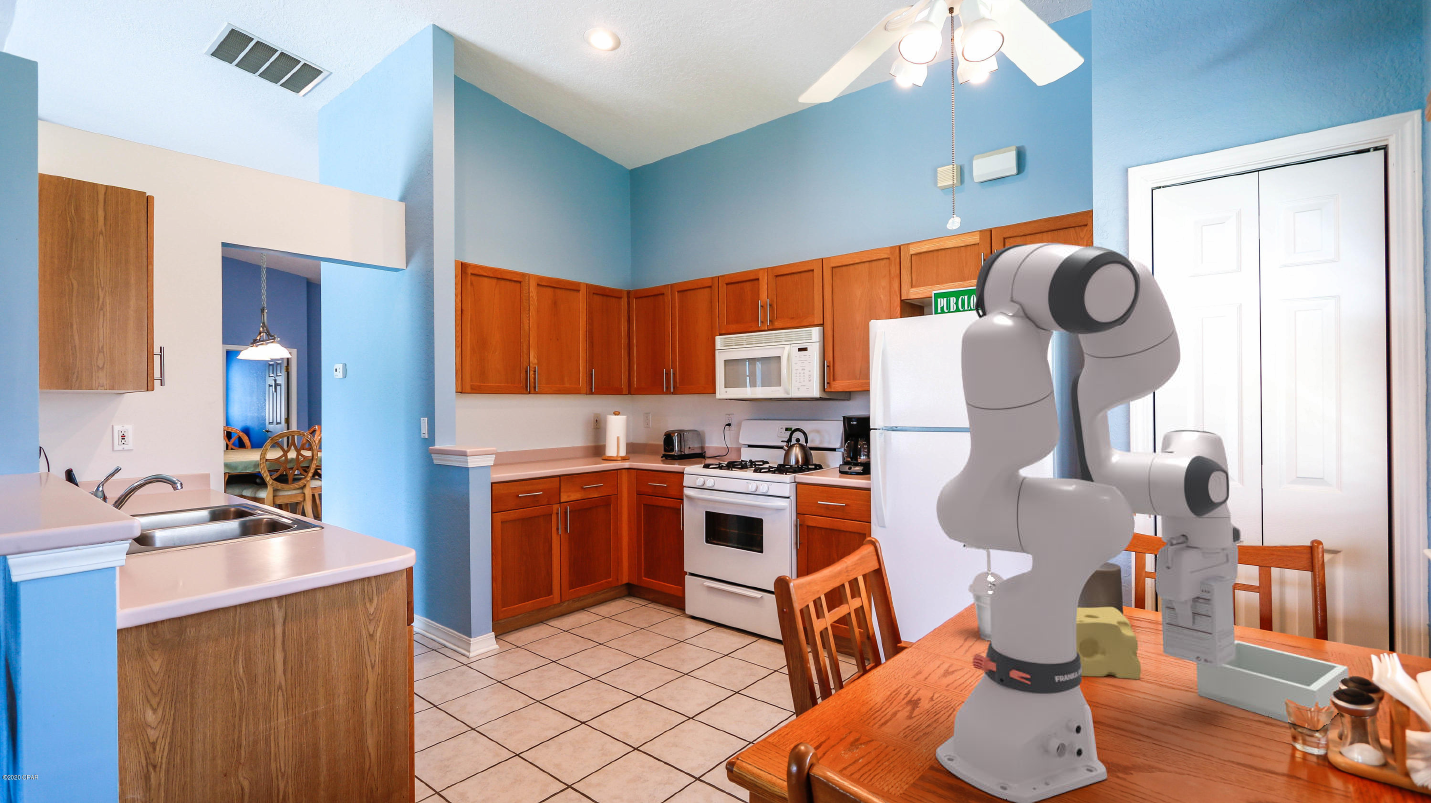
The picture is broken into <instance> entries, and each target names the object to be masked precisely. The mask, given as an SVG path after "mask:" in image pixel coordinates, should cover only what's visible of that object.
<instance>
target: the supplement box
mask: <svg viewBox="0 0 1431 803" xmlns="http://www.w3.org/2000/svg"><path fill="white" fill-rule="evenodd" d="M1233 597H1234V596H1233V585H1232V579H1231V578H1228V577H1224V576H1217V577H1214V578H1210V579H1208V580H1205V581H1202V582H1201V595H1200V596H1198V597H1195V598H1192V605H1191V610H1192V614H1194V615H1195V625H1193V626H1191V627H1186V626H1181V625H1179V624H1178V618H1177V612H1176V610H1175V607H1174V605H1173V600H1170V599H1165V598H1161V597H1160V599H1161V600H1160V601H1161V602H1160V603H1161V604H1160V605H1161V627H1162V628H1161V629H1162V650H1163V651H1162V652H1163V654H1164V655H1167V656H1169V657H1174V658H1177V659H1178V658H1179V659H1180V660H1185V661H1187V662H1188V661H1189V662H1192V663H1199V664H1203V665H1207V666H1211V667H1215V668H1217V667H1219V666H1221V665H1223V664H1225V663H1227V662H1229V661H1231V660H1233V659H1235V658H1236V657H1235V640H1236V639H1235V617H1234V616H1235V615H1234V614H1235V613H1234V598H1233Z"/></svg>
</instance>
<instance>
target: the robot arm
mask: <svg viewBox="0 0 1431 803" xmlns="http://www.w3.org/2000/svg"><path fill="white" fill-rule="evenodd" d="M975 296H976V297H975V298H976V300H975V303H974V309H975V312H976V314H977V317H978V318H977V320H975V321H973V322H972V323H970V325H968V327H966V329H965V330H964V332H963V334H962V340H961V349H960V350H961V351H960V355H961V356H960V358H961V359H960V361H961V362H960V364H961V381H962V388H963V395H964V401H965V406H966V411H967V419H968V425H969V434H970V436H969V437H970V452H969V455H968V458H967V461H966V462H965V465H964V466H963V468H962V470H961V471H960V472H959V473H958V474H957V475H955V476H954V477H953V478H951V479H949V481H947V483H946V484H945V485H944V486H943V487H942V489H941V490H940V492H939V495H938V497H937V500H936V501H937V502H936V516H937V521H938V524H939V526H940V528H941V530H942V531H943V533H944V534H945V535H946V537H948V538H949V540H953V541H956V542H959V543H962V544H963V545H964V544H968V545H971V546H974V547H978V548H983V549H989V550H992V551H1001V552H1012V553H1020V554H1026V555H1030V556H1031V559H1032V562H1031V563H1032V564H1031V568H1030V570H1028V571H1026V572H1021V573H1019V574H1016V575H1013V576H1010V577H1008V578H1006V579H1004V581H1002V582H1000V583H999V584H998V585H997V586H996V587H995V588H994V589H993V591H992V593H991V596H990V620H991V641H990V642H989V643H988V647H987V651H986V652H985V656H983V655H981V654H979V653H975V654H974V656H973V658H972V661H971V662H972V666H973V668H974V669H976V670H981V671H983V672H984V674H983V675H982V677H981V679H980V680H979V682H978V683H977V684H976V686H975V687H974V688H973V690H972V691H971V693H970V694H969V695H968V697H967V698H966V700H965V701H964V703H963V704H962V705H961V707H960V708H959V710H958V711H957V713H956V715H955V719H954V723H953V724H954V725H953V726H954V728H953V735H952V736H951V737H949V738H948V739H947V740H946V741H944V742H943V743H942V744H941V745H940V746H938V747H937V748H936V752H935V757H936V759H937V760H938V761H939V763H940V764H941V765H942V766H943V767H944V768H945V769H947V770H948V771H949V772H951V773H952V774H954V775H955V776H956V777H958V778H960V779H961V780H962V781H964V782H967V783H968V784H970V785H972V786H974V787H975V788H977V789H979V790H982V791H983V792H986V793H988V794H990V795H992V796H995V797H996V798H997V797H998V798H1001V799H1004V800H1006V799H1007V800H1006V801H1009V802H1014V803H1035V802H1039V801H1041V800H1044V799H1048V798H1051V797H1053V796H1057V795H1060V794H1063V793H1066V792H1069V791H1072V790H1076V789H1079V788H1081V787H1082V788H1083V787H1085V786H1088V785H1090V784H1095V783H1097V782H1101V781H1104V780H1106V779H1108V773H1107V768H1106V767H1105V764H1103V763H1102V762H1101V761H1100V760H1099V759H1098V754H1097V753H1098V752H1097V745H1096V738H1095V730H1094V723H1093V715H1092V711H1091V707H1090V706H1089V704H1088V703H1087V700H1086V699H1085V697H1084V694H1083V692H1082V690H1081V686H1080V684H1081V683H1082V681H1083V680H1082V677H1083V676H1081V673H1082V665H1081V661H1080V655H1079V654H1078V652H1077V648H1076V623H1077V607H1078V601H1079V597H1080V594H1081V591H1082V589H1083V587H1084V585H1085V583H1086V582H1087V580H1088V579H1089V577H1090V576H1091V575H1092V574H1093V573H1094V572H1095V571H1096V570H1097V569H1098V568H1099V567H1100V566H1102V565H1103V564H1104V563H1106V562H1109V561H1110V560H1112V559H1115V558H1116V557H1118V556H1119V555H1121V554H1122V553H1123V552H1124V551H1125V550H1126V548H1127V547H1129V544H1130V543H1131V542H1132V539H1133V536H1134V532H1135V525H1136V523H1135V516H1134V514H1138V515H1139V514H1140V515H1149V516H1159V517H1160V519H1161V521H1160V522H1161V540H1162V542H1165V543H1166V544H1165V545H1164V546H1163V547H1161V548H1160V549H1159V550H1158V553H1157V555H1156V564H1155V565H1156V566H1155V569H1156V570H1155V590H1156V593H1157V596H1158V597H1160V599H1161V598H1165V599H1170V600H1173V605H1174V607H1175V610H1176V612H1177V618H1178V624H1179V625H1181V626H1186V627H1191V626H1193V625H1195V615H1194V614H1192V610H1191V605H1192V598H1195V597H1198V596H1200V595H1201V582H1202V581H1205V580H1208V579H1210V578H1214V577H1217V576H1224V577H1228V578H1231V579H1232V586H1233V585H1235V583H1236V581H1237V578H1238V577H1237V576H1238V564H1239V551H1238V550H1239V548H1238V547H1239V546H1238V544H1237V543H1240V542H1241V541H1242V535H1241V534H1242V532H1241V529H1240V528H1239V527H1238V526H1236V525H1234V524H1233V523H1232V519H1231V511H1230V509H1229V506H1228V500H1229V497H1230V474H1229V473H1230V472H1229V465H1228V459H1227V456H1226V454H1227V452H1226V450H1225V445H1224V442H1223V440H1222V437H1221V435H1218V434H1216V433H1214V432H1209V431H1206V430H1192V429H1179V430H1173V431H1169V432H1166V433H1165V434H1164V435H1163V437H1162V441H1161V450H1160V452H1137V451H1136V452H1135V451H1123V450H1120V449H1116V448H1115V447H1113V446H1112V445H1111V444H1112V443H1111V435H1110V427H1109V426H1110V425H1109V415H1108V412H1109V411H1111V410H1113V409H1115V408H1117V407H1119V406H1123V405H1125V404H1129V403H1131V402H1134V401H1137V400H1140V399H1142V398H1145V397H1148V396H1150V395H1151V394H1152V393H1154V392H1156V391H1158V390H1159V389H1160V388H1162V387H1163V386H1164V385H1165V384H1167V383H1168V381H1169V380H1171V378H1172V377H1173V376H1174V375H1175V373H1176V372H1177V369H1178V367H1179V365H1180V361H1181V347H1180V340H1179V337H1178V332H1177V329H1176V326H1175V322H1174V319H1173V315H1172V313H1171V310H1170V307H1169V305H1168V302H1167V300H1166V298H1165V295H1164V293H1163V290H1162V289H1161V287H1160V285H1159V284H1158V282H1157V280H1156V278H1155V277H1154V275H1153V274H1152V272H1151V270H1150V268H1148V266H1146V265H1145V264H1143V263H1141V262H1140V261H1138V260H1135V259H1129V258H1128V257H1126V256H1124V255H1123V254H1122V253H1119V252H1117V251H1115V250H1112V249H1109V248H1106V247H1101V246H1096V245H1094V246H1093V245H1091V246H1081V245H1076V244H1075V245H1074V244H1073V245H1072V244H1065V243H1059V242H1041V243H1040V242H1039V243H1033V244H1032V243H1031V244H1024V243H1023V244H1022V243H1020V244H1019V243H1018V244H1014V245H1010V246H1006V247H1003V248H1000V249H998V250H996V251H995V252H993V253H992V254H990V255H989V256H988V257H987V258H986V259H985V261H984V262H983V263H982V265H981V267H980V269H979V271H978V275H977V279H976V285H975ZM1054 332H1068V333H1069V334H1073V335H1074V334H1075V335H1078V340H1079V342H1080V345H1081V348H1082V352H1083V356H1084V364H1083V365H1084V366H1083V368H1081V369H1080V370H1078V371H1077V372H1076V374H1075V375H1074V377H1073V378H1072V382H1071V386H1070V387H1071V388H1070V408H1071V417H1072V425H1073V432H1074V434H1073V435H1074V440H1075V448H1076V449H1075V450H1076V456H1077V478H1063V477H1061V478H1056V477H1035V476H1034V477H1033V476H1026V475H1023V474H1022V473H1021V472H1020V470H1022V469H1024V468H1027V467H1030V466H1032V465H1034V464H1036V463H1038V462H1040V461H1042V460H1043V459H1045V458H1046V457H1048V456H1049V455H1050V454H1052V452H1053V451H1054V450H1055V448H1056V447H1057V445H1058V443H1059V440H1060V433H1061V432H1060V426H1059V418H1058V411H1057V404H1056V396H1055V391H1054V390H1055V389H1054V388H1055V387H1054V383H1053V377H1052V373H1051V372H1052V371H1051V368H1050V363H1049V360H1048V354H1049V347H1050V346H1049V345H1050V342H1051V339H1052V337H1053V335H1054Z"/></svg>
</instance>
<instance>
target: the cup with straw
mask: <svg viewBox="0 0 1431 803" xmlns="http://www.w3.org/2000/svg"><path fill="white" fill-rule="evenodd" d="M963 548H965V549H966V548H968V549H974V550H983V551H985V552H986V569H987V570H986V571H983V572H980V573H978V574H976V575H975V577H974V578H973V580H972V582H971V583H970V585H969V586H968V592H969V593H971V594H972V599H973V603H974V605H975V612H976V618H977V625H978V627H977V628H978V631H979V633H980V634H979V637H980V638H981V639H983V640H986V641H990V642H991V620H990V596H991V593H992V591H993V589H994V588H995V587H996V586H997V585H998V584H999V583H1000V582H1002V581H1004V580H1005V579H1004V578H1003V577H1002V576H1001V575H1000V574H998V573H996V572H993V571H992V566H991V565H992V564H991V551H990V550H991V549H983V548H978V547H974V546H971V545H968V544H964V543H963Z"/></svg>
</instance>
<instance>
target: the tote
mask: <svg viewBox="0 0 1431 803" xmlns="http://www.w3.org/2000/svg"><path fill="white" fill-rule="evenodd" d="M1235 657H1236V658H1235V659H1233V660H1231V661H1229V662H1227V663H1225V664H1223V665H1221V666H1219V667H1217V668H1215V667H1211V666H1207V665H1203V664H1199V663H1196V680H1197V681H1196V683H1197V684H1196V685H1197V686H1196V687H1197V696H1200V697H1204V698H1206V699H1207V698H1208V699H1209V700H1210V699H1211V700H1213V701H1217V702H1220V703H1223V704H1226V705H1230V706H1232V707H1236V708H1239V709H1243V710H1245V711H1249V712H1252V713H1255V714H1258V715H1262V716H1265V717H1268V716H1269V717H1268V718H1271V717H1272V718H1271V719H1275V720H1278V721H1282V722H1285V723H1288V716H1287V712H1286V705H1285V700H1286V699H1288V700H1291V701H1293V702H1295V703H1297V704H1299V705H1301V706H1305V707H1307V708H1314V706H1315V704H1316V702H1318V706H1319V707H1320V708H1323V707H1325V706H1330V695H1331V694H1332V693H1333V692H1334V691H1336V690H1338V689H1339V682H1340V681H1341V680H1342V679H1344V678H1349V667H1348V666H1345V665H1341V664H1337V663H1333V662H1328V661H1326V660H1325V661H1324V660H1321V659H1317V658H1312V657H1307V656H1303V655H1299V654H1295V653H1291V652H1287V651H1286V652H1285V651H1282V650H1278V649H1275V648H1274V649H1273V648H1270V647H1267V646H1266V647H1265V646H1261V645H1257V644H1252V643H1249V642H1244V641H1241V640H1236V639H1235ZM1288 724H1289V723H1288Z"/></svg>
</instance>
